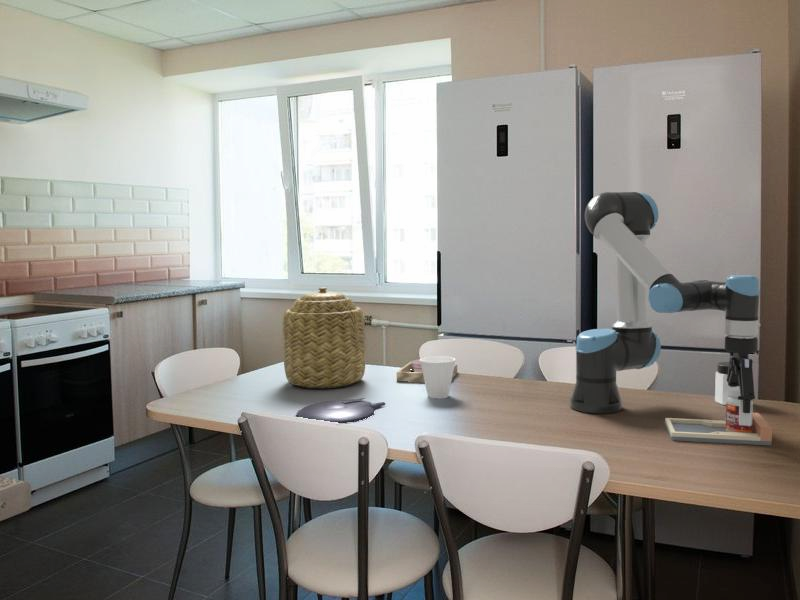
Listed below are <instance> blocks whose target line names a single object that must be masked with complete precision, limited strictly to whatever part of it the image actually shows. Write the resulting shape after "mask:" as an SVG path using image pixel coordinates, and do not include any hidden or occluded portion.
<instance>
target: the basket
mask: <svg viewBox="0 0 800 600" xmlns="http://www.w3.org/2000/svg"><path fill="white" fill-rule="evenodd" d="M318 290H319V291H315V292H308V293H304V294H303V295H301V297H300V298H296V299H295V300H294V302H293V303H292V305H291V307H290V308H289V309H287V310H286V311H285V312H284V314H283V317H282V318H283V319H282V353H283V355H282V356H283V357H282V358H283V366H284V367H283V368H284V372H285V377H286V379H287V381H288V382H289V383H290V384H292V385H295V386H297V385H298V387H300V386H302V387H301V388H304V387H308V388H307V389H312V388H328V389H335V388H334V387H338V388H343V387H342V386H344V387H347V385H348V386H350V384H351V385H353V384H355V383H357V382H359V381H361V380H362V379H363V377H364V375H365V371H366V361H367V360H366V359H367V356H366V355H367V351H366V349H367V346H366V345H367V344H366V339H367V338H366V327H365V323H366V322H365V317H364V312H363V310H362V308H360V307H358V306H356V305H355V302H354V301H353V300H352V298H350V297H347V296H345V294H343V293H341V292H335V291H327V290H328V288H327V287H324V286H323V287H321V286H320V287H318Z"/></svg>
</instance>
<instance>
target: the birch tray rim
mask: <svg viewBox="0 0 800 600" xmlns="http://www.w3.org/2000/svg"><path fill="white" fill-rule="evenodd" d="M410 362H411V361H410ZM410 362H408V363H406V364H405V365H404V366H403V367H401V368H400V369H399V370H397V371H396V382H397V381H408V382H407V383H422V384H423V383H424V384H425V381H424V376H423V372H411V371H414V369H413V367H412V365H411V363H410ZM410 369H412V370H410ZM457 374H458V363H455V365H454V370H453V375H452V379H453V378H454V377H455V376H456V375H457Z"/></svg>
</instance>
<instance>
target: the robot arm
mask: <svg viewBox="0 0 800 600" xmlns="http://www.w3.org/2000/svg"><path fill="white" fill-rule="evenodd" d="M584 210H585V211H584V221H585V225H586V227H587V229H588V230H589V232H590V234H592V235H593V237H594V238H595V239H596V240H598V241H602V242H603V243H604V244H606V246H607V247H608V248H609V249H610V250H611V252H613V254H614V255H615V276H616V277H615V279H616V283H615V284H616V285H615V286H616V319H617V320H616V321H615V322H614V323H613V324H612V326H611V327H612V328H598V329H597V328H593V329H588V330H585V331H581V333H579V334H578V335H577V337H576V346H575V352H576V353H575V355H576V356H575V358H576V359H575V360H576V361H575V363H576V365H575V367H576V369H575V373H576V375H575V376H576V377H575V379H576V380H575V384H574V387H573V389H572V390H573V391H572V393H571V396H570V400H569V406H570V408H571V409H573V410H575V411H579V412H581V413H589V414H612V413H613V414H614V413H618V412H620V411H621V410H623V401H622V397H621V394H620V391H619V387H618V384H617V372H620V371H627V370H628V371H629V370H635V369H636V370H641V369H644V368H649V367H650V366H653V365H654V364H655V363H656V362H657V360H658V359H659V357H660V354H661V350H662V349H661V348H662V345H661V340H660V337H658V334H657V333H656V332H655V331H654V330H653V326H652V324H651V322H649V321H648V319H647V300H648V302H649V305H650V307H651V309H652V310H653V311H655V312H656V313H662V314H674V313H680V312H681V313H682V312H695V311H706V310H711V311H712V310H713V311H723V312H725V313H724V315H725V318H724V334H725V335H726V336H725V337H724V351H726V352H729V361H728V362H729V367H728V374H727V379H726V380H727V382H728V386H730V387H737V386H739V388H740V395H741V396H738V400H739V425H746V426H751V423H752V401H753V400H755V399H756V395H755V385H754V384H755V383H754V374H753V373H754V372H753V363H754V362H753V359H751V358H749V354H754V353H757V351H759V350H758V349H759V348H758V347H759V346H758V344H759V339H758V338H757V336H758V335H759V334H758V333H759V329H758V328H760V327H761V323H760V322H759V305H760V294H761V292H760V280H759V278H758V276H756V275H753V274H746V275H745V274H731V275H727V276H726V281H715V280H713V281H712V280H708V279H707V280H705V279H703V280H701V279H699V280H692V281H691V282H681V281H680V280H679V279H677V277H675V275H674V274H673V273H672V272H671V271H670V270H669V269H668V268H667V267H666V266H665V265H664V264H663V263H662V262H661V261H660V259H659V258H658V257H657V256H655V254H654V253H653V252H652V251H651V250H650V249H649V248H648V247H647V246H646V241H647V240H648V239H649V238H650V237H651V230H652V229H653V228H655V227H656V225H657V223H658V221H659V208H658V205H657V203H656V201H655V199H654V198H652V197H651V195H649V194H648V193H645V192H637V191H630V192H629V191H627V192H626V191H625V192H624V191H622V192H621V191H620V192H611V191H605V192H601V193H599V194H597V195H595V196H593V197H592V198H591V199H590V200H589V202H588V203H587V205H586V206H585V209H584ZM647 292H648V296H647ZM647 297H648V298H647ZM730 387H728V398H729V397H731V396H730V395H729V388H730Z"/></svg>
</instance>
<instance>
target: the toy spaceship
mask: <svg viewBox="0 0 800 600" xmlns="http://www.w3.org/2000/svg"><path fill="white" fill-rule="evenodd" d="M365 399H366V397H362V398H356V399H355V398H354V399H339V400H331V401H327V400H326V401H323V402H322V401H321V402H317V403H313V404H309V405H306V406H304V407H303V408H301V409H299V410H298V411H297V413H296V414H297V415H296V414H295V417H296V416H297V417H303V418H308V419H316V420H324V421H330V422H338V423H345V424H348V423H347V422H353V423H357V421H358V422H360V421H359V420H362V421H364V420H363V419H365V418H366V419H365V420H368V419H369V418H368V417H370V416H372V415H373V416H374V415H375V414H374V411H375V412H376V409H379V408H381V407H383V406H385V405H386V402H385V401H382V402H373V403H372V402H370V401H367V400H365ZM373 416H372V417H373ZM367 418H368V419H367ZM370 418H371V417H370Z"/></svg>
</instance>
